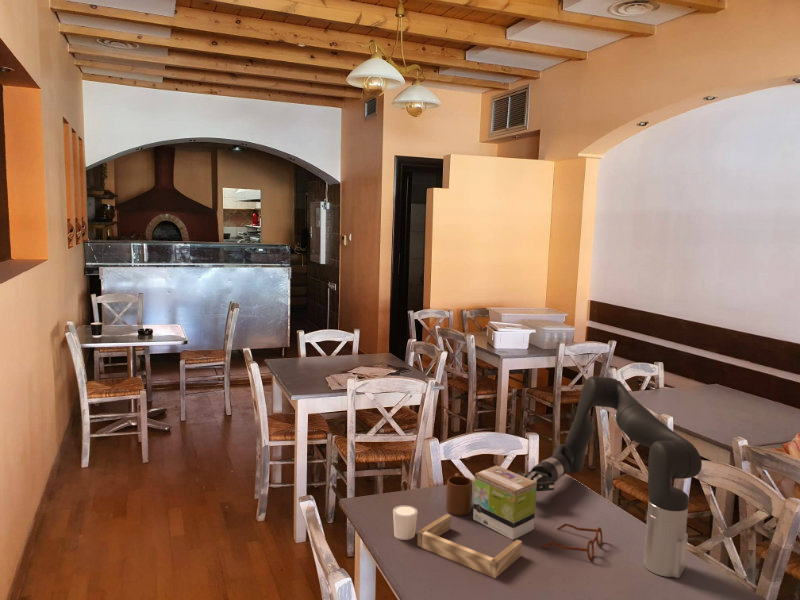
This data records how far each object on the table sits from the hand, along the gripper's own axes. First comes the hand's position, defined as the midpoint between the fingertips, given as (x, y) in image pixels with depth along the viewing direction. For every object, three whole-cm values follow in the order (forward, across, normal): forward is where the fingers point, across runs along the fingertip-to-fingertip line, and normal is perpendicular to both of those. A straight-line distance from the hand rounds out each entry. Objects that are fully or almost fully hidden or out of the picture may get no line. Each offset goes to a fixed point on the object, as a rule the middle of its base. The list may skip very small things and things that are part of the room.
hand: (522, 489), depth 189 cm
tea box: (+11, 0, +7) cm, 13 cm away
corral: (+30, 0, +7) cm, 31 cm away
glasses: (+8, +20, +8) cm, 23 cm away
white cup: (+34, -18, +7) cm, 39 cm away
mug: (+10, -16, +7) cm, 20 cm away
